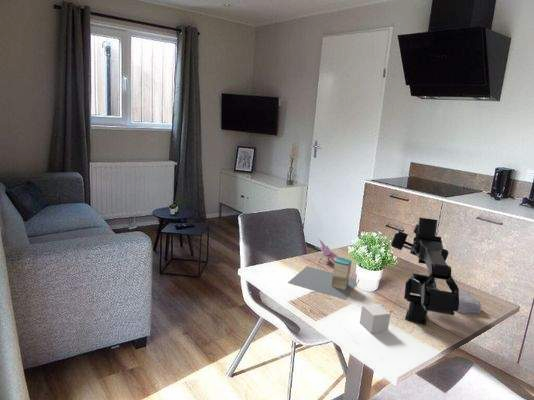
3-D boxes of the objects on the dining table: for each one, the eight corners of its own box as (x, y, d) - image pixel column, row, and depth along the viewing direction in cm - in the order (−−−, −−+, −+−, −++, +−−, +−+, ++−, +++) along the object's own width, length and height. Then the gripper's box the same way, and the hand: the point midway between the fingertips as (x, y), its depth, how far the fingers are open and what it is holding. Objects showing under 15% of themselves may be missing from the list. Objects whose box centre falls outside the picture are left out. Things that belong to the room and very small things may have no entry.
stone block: (454, 317, 133) (483, 314, 133) (454, 304, 132) (483, 301, 132) (439, 302, 145) (466, 299, 144) (438, 290, 144) (465, 287, 144)
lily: (336, 272, 160) (346, 251, 162) (311, 259, 160) (322, 238, 161) (328, 270, 172) (338, 250, 173) (305, 258, 171) (315, 238, 173)
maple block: (344, 289, 141) (348, 264, 139) (331, 286, 143) (334, 260, 141) (348, 285, 146) (351, 259, 144) (335, 281, 148) (338, 256, 146)
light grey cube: (359, 323, 120) (362, 305, 119) (375, 321, 122) (378, 303, 121) (370, 334, 114) (373, 315, 113) (387, 331, 117) (390, 313, 115)
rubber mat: (345, 300, 134) (345, 299, 134) (287, 283, 143) (287, 282, 143) (359, 280, 151) (359, 279, 151) (306, 267, 161) (306, 266, 161)
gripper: (460, 238, 129) (448, 238, 144) (405, 216, 133) (399, 218, 149) (447, 268, 129) (436, 265, 144) (392, 246, 133) (388, 245, 148)
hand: (415, 247), depth 146 cm, fingers open, 9 cm apart
